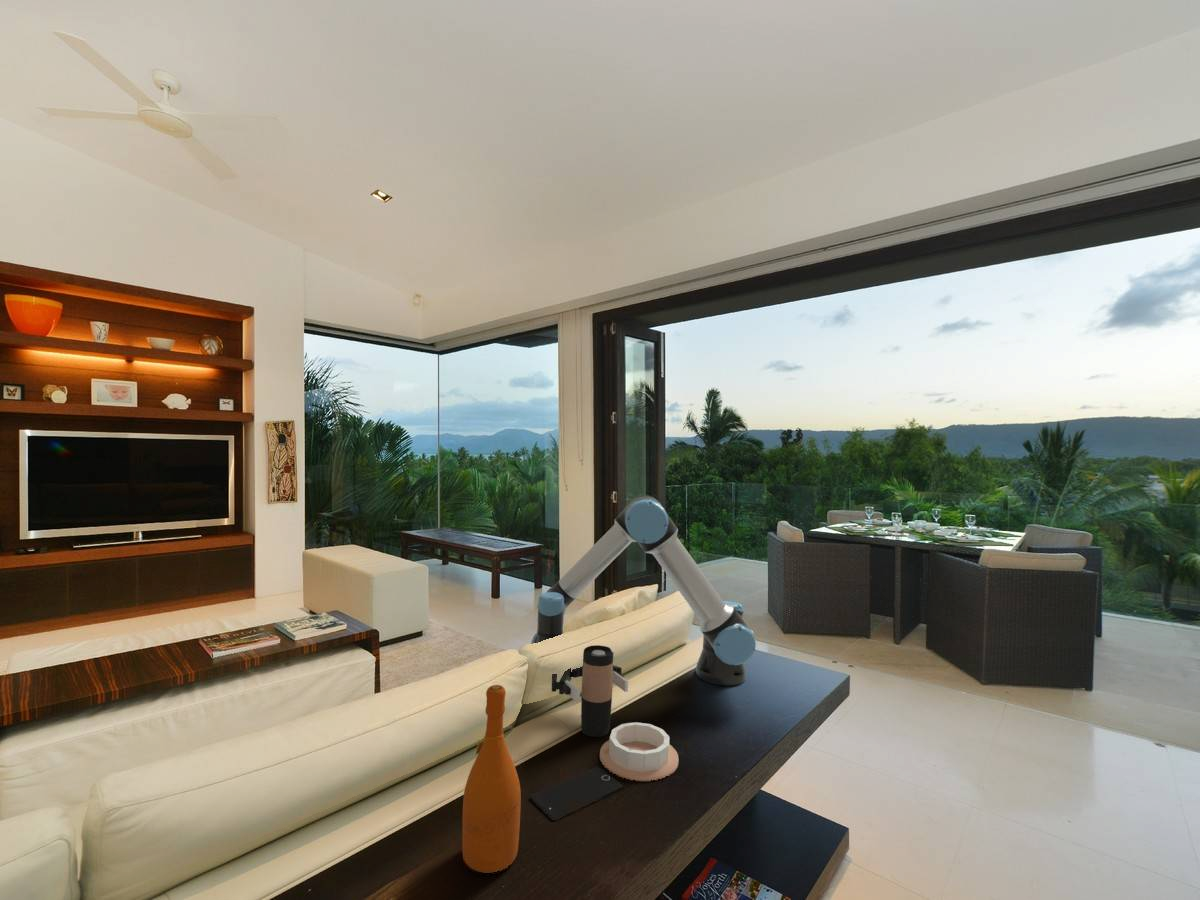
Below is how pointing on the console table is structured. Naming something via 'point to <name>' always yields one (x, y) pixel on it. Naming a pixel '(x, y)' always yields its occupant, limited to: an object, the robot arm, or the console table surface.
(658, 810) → the console table surface
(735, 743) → the console table surface
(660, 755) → the white and pink ring
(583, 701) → the travel mug
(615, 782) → the cell phone
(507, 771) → the wine bottle
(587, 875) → the console table surface
